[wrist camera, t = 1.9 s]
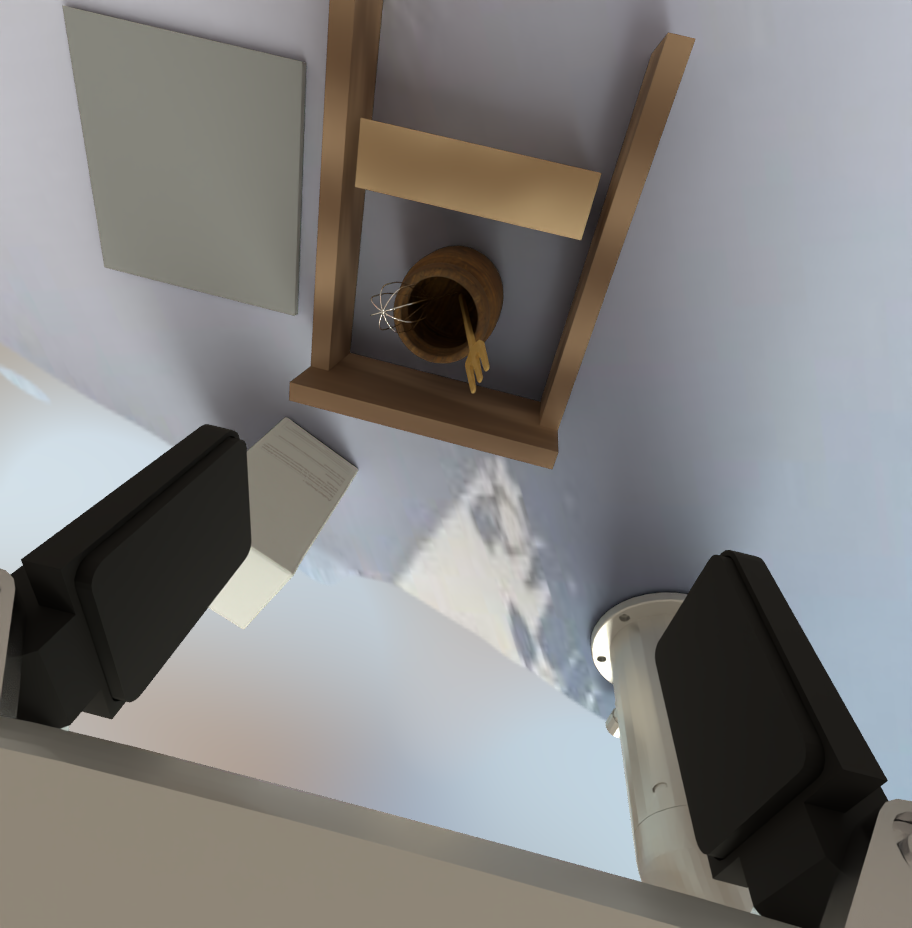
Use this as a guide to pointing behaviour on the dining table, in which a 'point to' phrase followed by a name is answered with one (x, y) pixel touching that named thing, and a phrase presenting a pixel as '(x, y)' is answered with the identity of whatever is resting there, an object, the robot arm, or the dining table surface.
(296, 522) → the supplement box
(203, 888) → the robot arm
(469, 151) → the oak offcut block
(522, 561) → the dining table surface
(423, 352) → the utensil holder
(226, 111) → the slate mat
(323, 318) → the walnut u-shaped frame
